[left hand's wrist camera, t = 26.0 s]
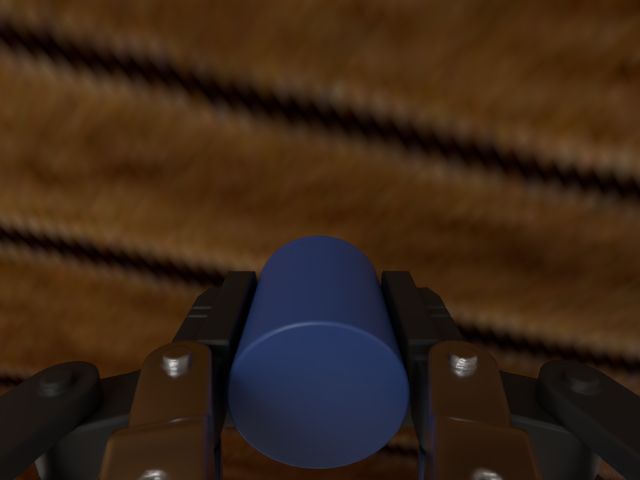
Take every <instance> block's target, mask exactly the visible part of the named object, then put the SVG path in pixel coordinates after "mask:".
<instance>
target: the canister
mask: <svg viewBox="0 0 640 480" xmlns="http://www.w3.org/2000/svg"><path fill="white" fill-rule="evenodd" d="M226 400H227V406H228V410H229V413H230V417H231V419H232V421H233V423H234V425H235V427H236V428H237V430H238V431H239V433H240V434H241V435H242V436H243V438H244V439H245V440H246V441H247V442H248V443H249V444H250V445H251V446H253V447H254V448H255V449H257V450H258V451H259V452H261V453H262V454H264V455H266V456H268V457H270V458H272V459H274V460H276V461H279V462H281V463H285V464H288V465H291V466H296V467H302V468H312V469H325V468H334V467H340V466H345V465H349V464H352V463H355V462H358V461H360V460H362V459H365V458H367V457H369V456H370V455H372V454H374V453H376V452H377V451H378V450H380V449H381V448H382V447H384V446H385V445H386V444H387V443H388V442H389V441H390V440H391V439H392V438H393V437H394V436H395V434H396V433H397V432H398V430H399V429H400V427H401V425H402V424H403V422H404V419H405V417H406V414H407V411H408V407H409V403H410V384H409V380H408V376H407V372H406V369H405V365H404V362H403V359H402V355H401V352H400V349H399V346H398V342H397V339H396V336H395V332H394V329H393V326H392V322H391V319H390V316H389V312H388V309H387V306H386V302H385V299H384V296H383V293H382V289H381V286H380V283H379V279H378V276H377V273H376V271H375V268H374V267H373V265H372V263H371V262H370V260H369V259H368V258H367V257H366V255H365V254H363V253H362V252H361V251H360V250H359V249H358V248H356V247H355V246H353V245H351V244H350V243H348V242H346V241H343V240H340V239H337V238H333V237H327V236H310V237H304V238H300V239H297V240H294V241H292V242H289V243H288V244H286V245H284V246H282V247H281V248H280V249H278V250H277V251H276V252H275V253H274V254H273V255H272V256H271V257H270V258H269V260H268V261H267V262H266V264H265V266H264V267H263V269H262V272H261V274H260V277H259V280H258V283H257V287H256V290H255V293H254V296H253V299H252V302H251V306H250V309H249V312H248V315H247V318H246V322H245V325H244V328H243V331H242V334H241V337H240V341H239V344H238V347H237V350H236V353H235V356H234V360H233V363H232V366H231V369H230V372H229V375H228V380H227V385H226Z"/></svg>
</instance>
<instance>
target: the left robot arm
mask: <svg viewBox="0 0 640 480" xmlns="http://www.w3.org/2000/svg"><path fill="white" fill-rule="evenodd" d="M256 287H257V279H256V273H255V271H229V273H228V274H227V276H226V279H225V281H224V283H223V285H222V287H221V288H209V289H208V290H207V291H205V292H204V293H202V294H201V295H200V296H198V297H197V299H196V301H195V303H194V304H193V306H192V309H191V310H190V311H189V313H188V315H187V318H185V320H184V322H183V323H182V325H181V327H180V329H179V330H178V332H177V334H176V336H175V337H174V339H173V341H172V342H171V343H169V344H166V345H163V346H161V347H159V348H157V349H156V350H154V351H153V352H151V353H150V354H149V355H148V356H147V357H146V359H145V360H144V362H143V365H142V369H140V370H138V371H135V372H131V373H127V374H123V375H118V376H113V377H108V378H103V379H100V376H99V372H98V369H97V367H96V366H95V365H93V364H91V363H88V362H83V361H73V362H66V363H62V364H58V365H55V366H52V367H49V368H47V369H44V370H42V371H40V372H38V373H37V374H35V375H33V376H32V377H30V378H29V379H27V380H25V381H24V382H22V383H21V384H19V385H18V386H16V387H15V388H13V389H12V390H10V391H8V392H7V393H5V394H4V395H2V396H1V397H0V480H13V479H14V478H15V477H17V476H18V475H19V474H20V473H21V472H23V471H24V470H25V469H26V468H27V467H29V466H30V465H31V464H32V463H33V462H35V463H36V466H37V469H38V472H39V475H40V477H39V478H38V479H36V480H223V459H222V444H221V432H222V429H223V427H235V425H234V423H233V421H232V419H231V417H230V413H229V410H228V406H227V400H226V385H227V380H228V375H229V372H230V369H231V366H232V363H233V360H234V356H235V353H236V350H237V347H238V344H239V341H240V337H241V334H242V331H243V328H244V325H245V322H246V318H247V315H248V312H249V309H250V306H251V302H252V299H253V296H254V293H255V290H256ZM381 289H382V293H383V296H384V299H385V302H386V306H387V309H388V312H389V316H390V319H391V322H392V326H393V329H394V332H395V336H396V339H397V342H398V346H399V349H400V352H401V355H402V359H403V362H404V365H405V369H406V372H407V376H408V380H409V384H410V403H409V407H408V411H407V414H406V417H405V419H404V422H403V424H402V425H401V427H414V428H415V432H416V435H417V439H418V441H419V444H418V459H417V480H604V479H602V478H601V477H600V476H599V475H598V474H597V472H598V469H599V466H600V463H601V460H602V459H603V460H604V461H605V462H607V463H608V464H609V465H610V466H611V467H613V468H614V469H615V470H616V471H617V472H619V473H620V474H621V475H622V476H623V477H625V478H626V479H627V480H640V397H639V396H638V395H636V394H635V393H633V392H632V391H630V390H628V389H627V388H625V387H624V386H622V385H621V384H619V383H618V382H616V381H615V380H613V379H611V378H610V377H608V376H607V375H605V374H604V373H602V372H600V371H598V370H596V369H594V368H592V367H589V366H587V365H584V364H581V363H577V362H573V361H566V360H555V361H550V362H547V363H545V364H544V365H542V367H541V369H540V372H539V377H538V379H536V378H531V377H526V376H521V375H516V374H511V373H507V372H503V371H500V370H499V369H498V365H497V362H496V360H495V359H494V357H493V356H492V355H491V354H490V353H489V352H487V351H486V350H484V349H483V348H481V347H479V346H477V345H474V344H471V343H468V342H465V340H464V338H463V337H462V335H461V333H460V331H459V330H458V328H457V326H456V324H455V323H454V321H453V319H452V317H450V314H449V312H448V310H447V309H446V307H445V305H444V303H443V301H442V300H441V298H440V296H438V295H437V294H436V293H434V292H433V291H431V290H430V289H429V288H417V287H416V285H415V283H414V281H413V279H412V277H411V275H410V273H409V271H383V272H382V277H381Z"/></svg>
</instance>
